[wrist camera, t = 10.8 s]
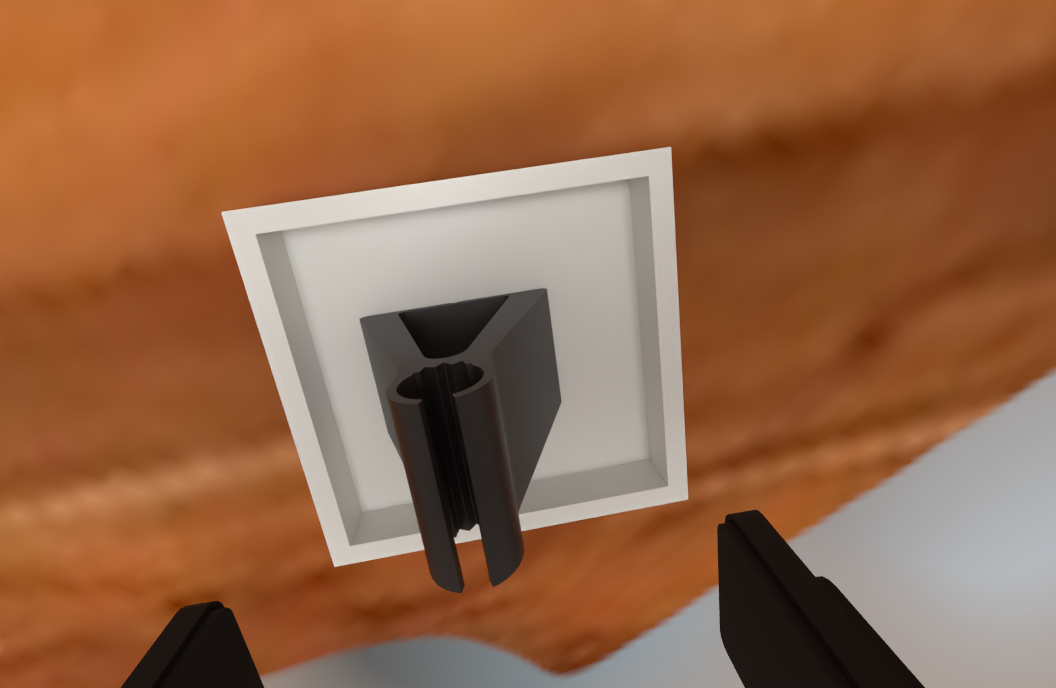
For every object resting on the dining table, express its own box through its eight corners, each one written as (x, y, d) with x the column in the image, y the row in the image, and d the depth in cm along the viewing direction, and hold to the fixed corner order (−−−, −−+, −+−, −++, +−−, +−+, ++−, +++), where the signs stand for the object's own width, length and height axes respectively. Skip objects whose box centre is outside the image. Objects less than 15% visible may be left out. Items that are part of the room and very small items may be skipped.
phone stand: (388, 428, 25) (317, 621, 14) (361, 315, 23) (253, 430, 12) (560, 399, 26) (630, 561, 14) (546, 287, 24) (613, 370, 12)
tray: (642, 153, 23) (671, 146, 20) (663, 463, 28) (688, 499, 25) (258, 209, 22) (220, 212, 19) (351, 521, 27) (334, 566, 24)
